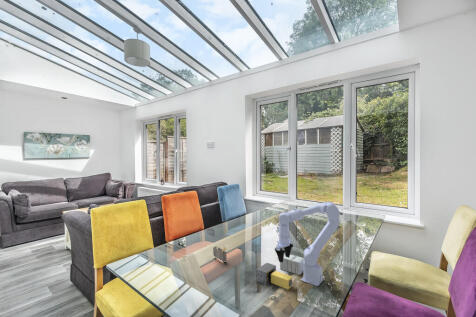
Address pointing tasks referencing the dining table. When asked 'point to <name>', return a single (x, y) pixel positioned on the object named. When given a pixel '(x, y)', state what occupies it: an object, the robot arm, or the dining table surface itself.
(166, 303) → the dining table surface
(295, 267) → the supplement box
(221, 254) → the ruin model on sheet
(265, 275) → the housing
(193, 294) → the dining table surface
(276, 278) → the end cover
